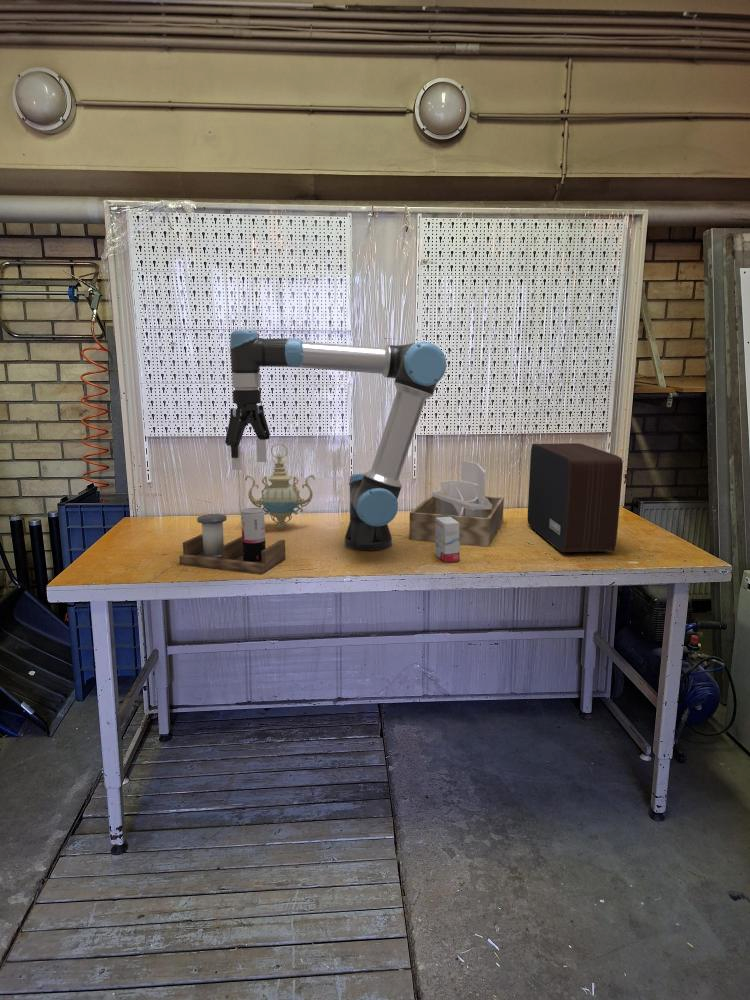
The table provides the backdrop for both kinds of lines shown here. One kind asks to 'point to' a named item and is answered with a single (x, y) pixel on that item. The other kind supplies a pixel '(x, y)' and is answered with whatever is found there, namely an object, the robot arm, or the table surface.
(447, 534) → the ink box
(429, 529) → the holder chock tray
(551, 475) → the brown wooden speaker
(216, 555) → the cable reel
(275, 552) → the wooden divided tray
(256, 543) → the beverage can
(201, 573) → the table surface
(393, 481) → the robot arm
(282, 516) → the ornate lidded vase
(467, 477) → the architectural model
